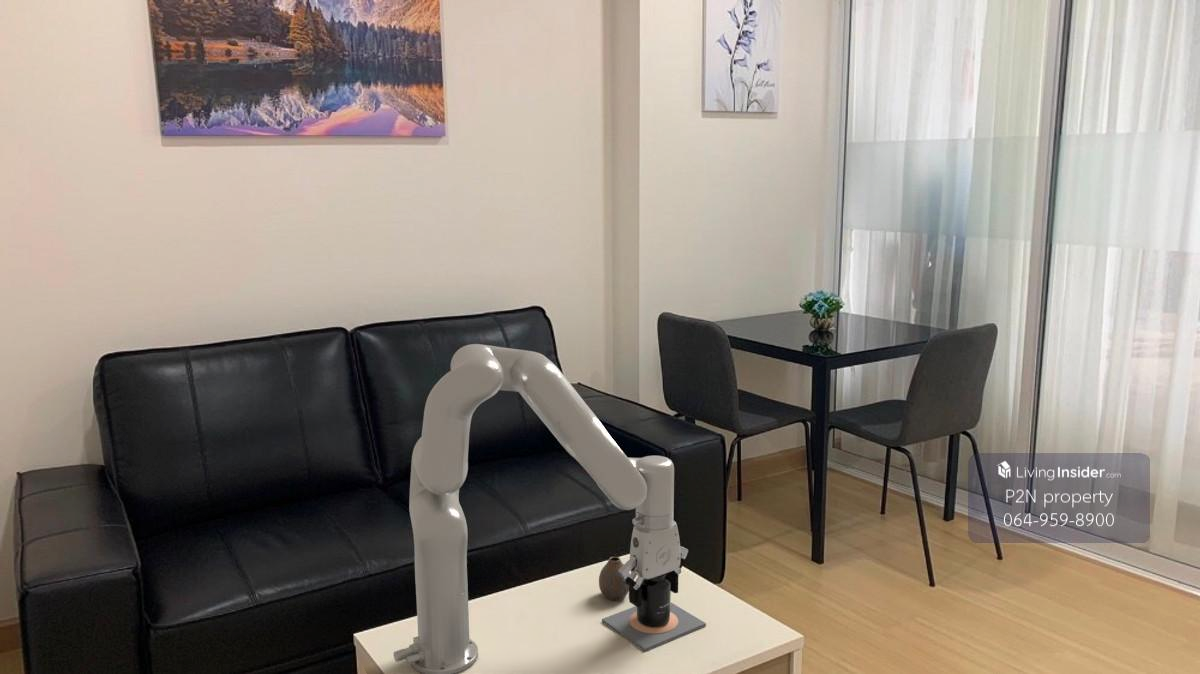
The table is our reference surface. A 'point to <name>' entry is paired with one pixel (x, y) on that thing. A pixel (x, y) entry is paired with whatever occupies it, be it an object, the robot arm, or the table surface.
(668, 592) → the supplement bottle
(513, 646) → the table surface
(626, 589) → the vase
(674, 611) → the mat
